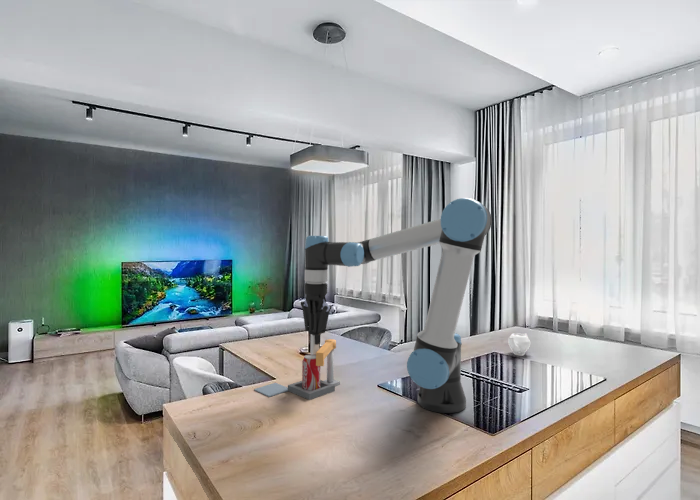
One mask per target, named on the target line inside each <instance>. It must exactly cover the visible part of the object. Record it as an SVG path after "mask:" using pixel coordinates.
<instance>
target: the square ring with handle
mask: <svg viewBox="0 0 700 500" xmlns="http://www.w3.org/2000/svg"><path fill="white" fill-rule="evenodd" d="M334 351H335V349H332V350H331V352H330V353H329V354H328V355H327V357H326V379H324V380H321V379H320V387H321V388H319V389H316V390H313V391H307V390H305V389H302V380H301V381H296V382H294V383H289V384H287V388H288V391H287V392H289V393H292V394H293V395H296V394H297V396H299V397H302V398H304V399H307V400H309V401H310V400H314V399H316V398H320V397H321V396H324V395H328V394H330V393H334V392H335V391H336V386H340V385H341V382H340V381H339V380H337V379H334V377H335V376H334V374H335V373H334V372H335V371H334V369H335V368H334V366H335V363H334V361H335V358H334V357H335V355H334V354H335V352H334ZM327 393H328V394H327Z"/></svg>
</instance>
